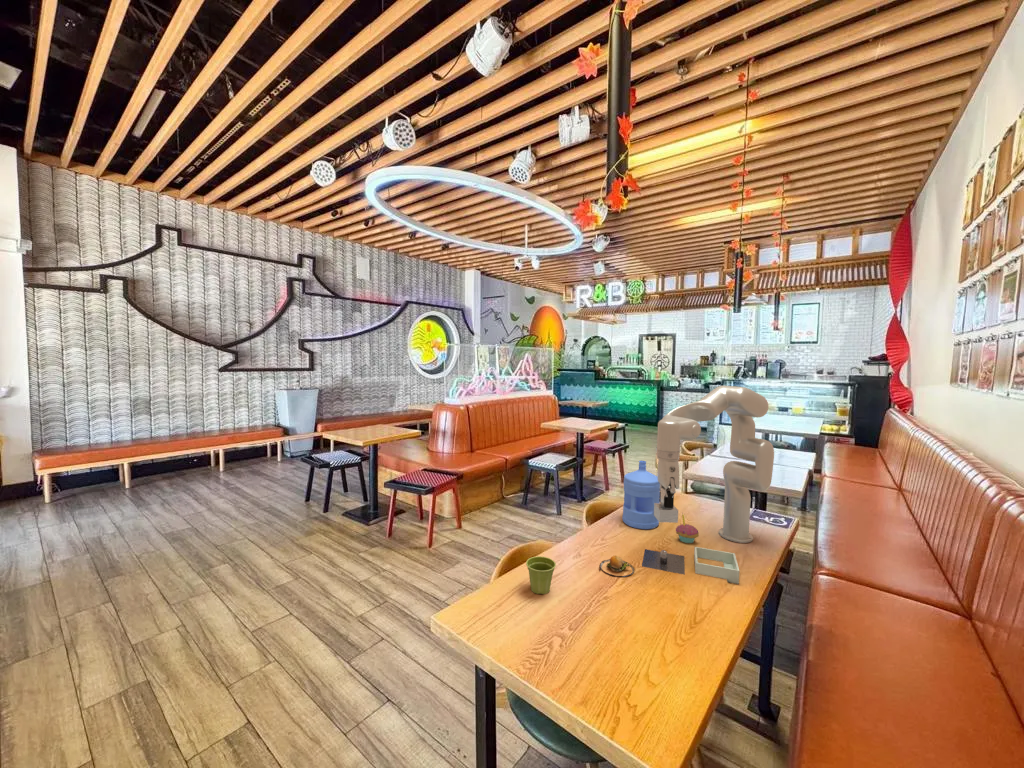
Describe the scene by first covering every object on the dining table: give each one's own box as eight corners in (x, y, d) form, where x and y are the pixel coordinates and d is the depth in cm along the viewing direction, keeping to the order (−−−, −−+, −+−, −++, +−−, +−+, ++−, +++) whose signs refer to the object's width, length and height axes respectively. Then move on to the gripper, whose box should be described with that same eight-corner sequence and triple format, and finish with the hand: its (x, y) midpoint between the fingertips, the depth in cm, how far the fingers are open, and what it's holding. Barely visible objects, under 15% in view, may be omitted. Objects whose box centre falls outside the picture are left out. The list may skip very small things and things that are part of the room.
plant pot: (539, 578, 141) (539, 553, 140) (561, 589, 134) (561, 563, 134) (519, 589, 134) (520, 562, 134) (541, 601, 128) (542, 574, 127)
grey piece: (671, 515, 153) (672, 486, 153) (677, 522, 147) (679, 492, 146) (653, 515, 154) (654, 485, 153) (659, 522, 147) (660, 491, 146)
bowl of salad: (640, 572, 146) (641, 551, 146) (623, 585, 138) (624, 563, 137) (609, 560, 154) (610, 540, 154) (592, 572, 146) (593, 551, 145)
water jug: (634, 513, 199) (636, 455, 197) (665, 523, 188) (667, 462, 185) (615, 522, 189) (617, 460, 186) (647, 533, 177) (649, 468, 175)
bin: (694, 558, 156) (694, 546, 155) (734, 565, 151) (734, 553, 150) (695, 576, 143) (695, 563, 143) (738, 584, 139) (739, 570, 138)
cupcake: (675, 544, 167) (676, 515, 166) (675, 536, 174) (676, 508, 174) (698, 548, 163) (700, 519, 163) (697, 540, 171) (699, 511, 170)
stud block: (644, 551, 161) (645, 539, 160) (684, 558, 155) (684, 545, 155) (641, 569, 148) (642, 555, 147) (684, 577, 142) (685, 563, 142)
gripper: (687, 461, 140) (685, 514, 142) (670, 449, 157) (668, 497, 158) (665, 460, 140) (663, 513, 142) (650, 449, 157) (648, 496, 158)
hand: (666, 504), depth 150 cm, fingers closed on grey piece, 4 cm apart
